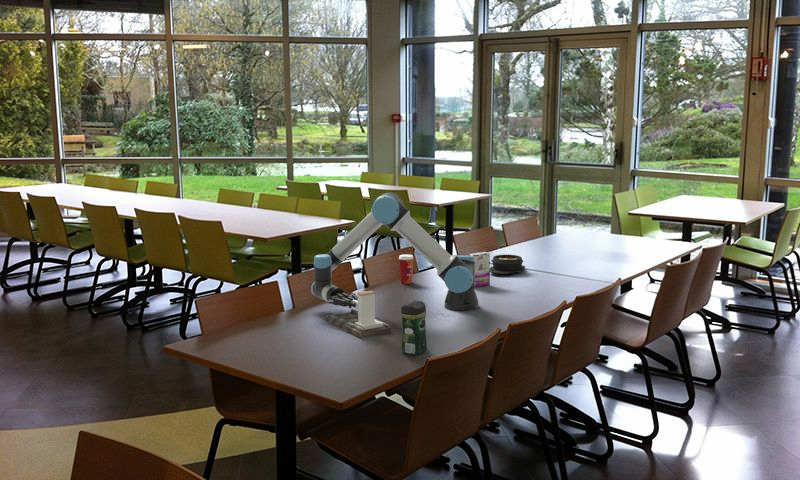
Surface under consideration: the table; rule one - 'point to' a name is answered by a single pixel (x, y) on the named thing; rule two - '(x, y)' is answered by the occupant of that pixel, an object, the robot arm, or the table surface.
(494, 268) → the casserole
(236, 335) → the table surface
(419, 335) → the coffee jar
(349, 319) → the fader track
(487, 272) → the candy bar box
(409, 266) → the paper cup
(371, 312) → the post
